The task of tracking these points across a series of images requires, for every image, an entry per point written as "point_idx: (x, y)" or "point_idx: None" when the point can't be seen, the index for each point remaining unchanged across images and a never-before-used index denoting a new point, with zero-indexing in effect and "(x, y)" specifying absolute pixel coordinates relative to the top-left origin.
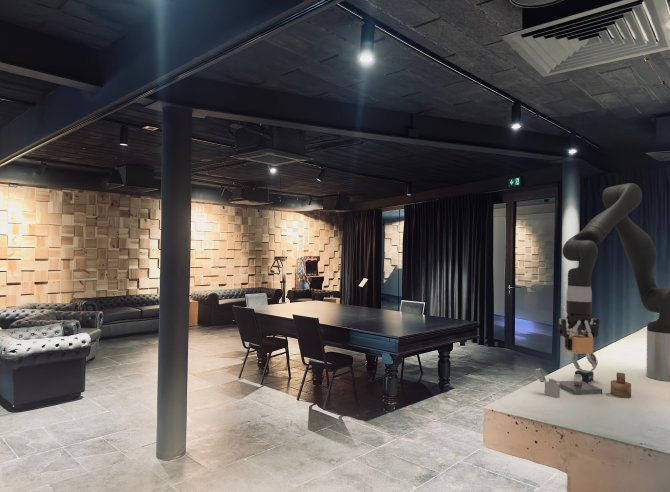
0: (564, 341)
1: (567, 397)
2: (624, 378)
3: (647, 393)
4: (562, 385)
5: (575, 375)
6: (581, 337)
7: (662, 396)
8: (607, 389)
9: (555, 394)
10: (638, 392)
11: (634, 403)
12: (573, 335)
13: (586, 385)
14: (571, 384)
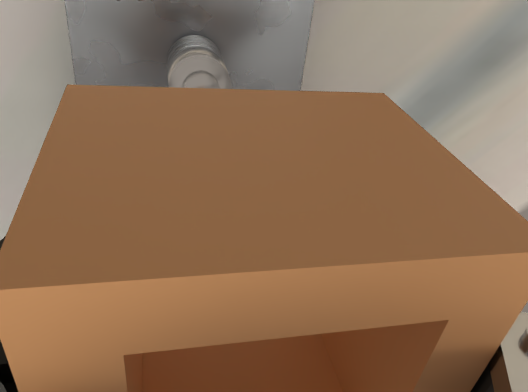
0: (38, 184)
1: (8, 186)
2: None
3: (513, 162)
4: (69, 31)
5: (191, 66)
6: (411, 330)
7: (521, 203)
8: (392, 75)
9: None
10: (492, 144)
11: None
12: (272, 337)
13: (251, 81)
14: (152, 40)
